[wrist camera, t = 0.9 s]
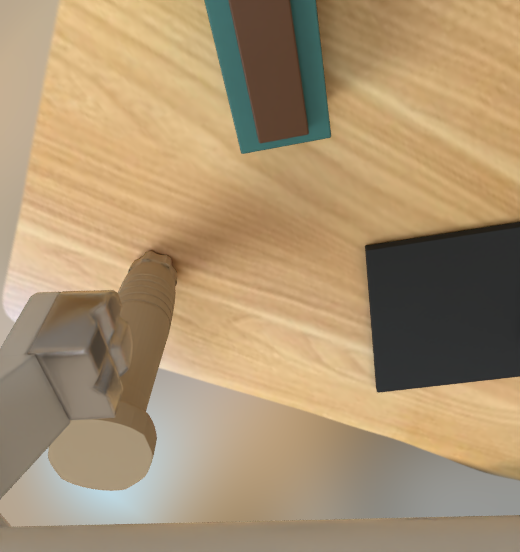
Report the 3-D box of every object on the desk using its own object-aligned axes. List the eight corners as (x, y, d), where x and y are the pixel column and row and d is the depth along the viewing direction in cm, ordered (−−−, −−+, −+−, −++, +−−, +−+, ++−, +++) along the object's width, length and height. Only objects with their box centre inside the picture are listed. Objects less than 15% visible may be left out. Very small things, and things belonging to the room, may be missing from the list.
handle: (115, 289, 36) (44, 480, 25) (130, 222, 32) (53, 410, 21) (178, 305, 37) (138, 496, 26) (199, 241, 33) (163, 432, 22)
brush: (298, -94, 22) (307, -89, 17) (322, 102, 27) (333, 144, 23) (202, -70, 22) (186, -59, 18) (244, 117, 28) (240, 161, 23)
